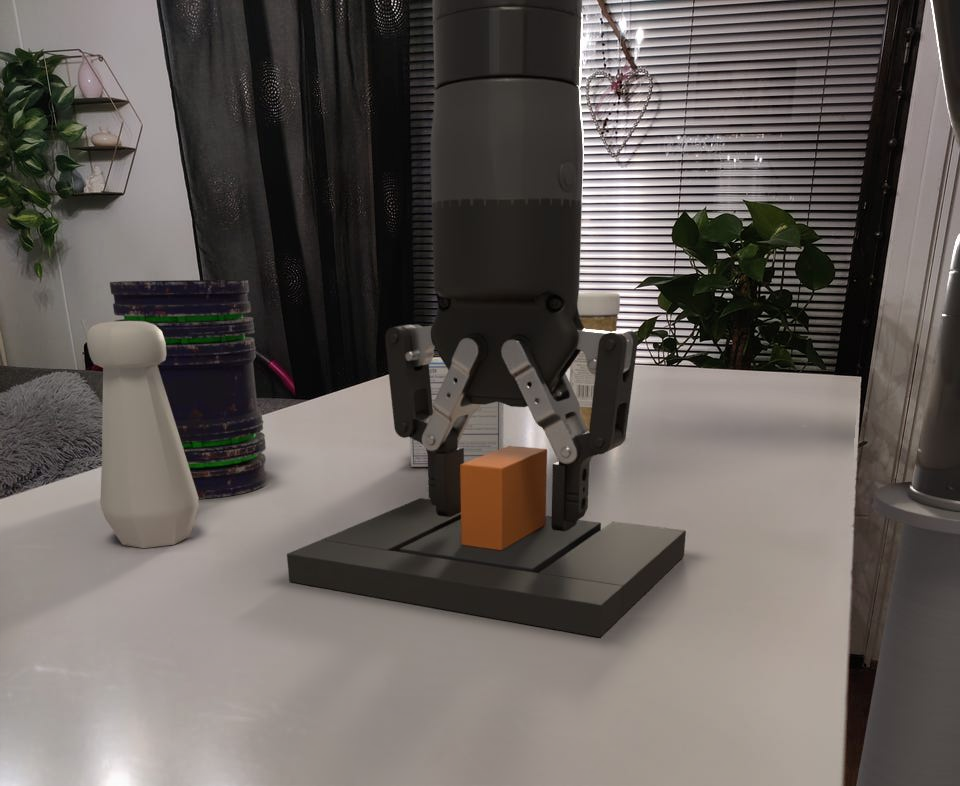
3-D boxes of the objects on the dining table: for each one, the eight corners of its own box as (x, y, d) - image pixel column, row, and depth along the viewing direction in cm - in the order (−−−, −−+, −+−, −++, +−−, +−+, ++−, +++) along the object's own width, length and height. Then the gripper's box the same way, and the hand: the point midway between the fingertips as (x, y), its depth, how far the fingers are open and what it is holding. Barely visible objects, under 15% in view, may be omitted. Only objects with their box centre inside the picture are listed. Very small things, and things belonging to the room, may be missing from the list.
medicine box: (503, 458, 80) (504, 356, 77) (503, 468, 76) (503, 361, 73) (415, 458, 81) (411, 356, 77) (410, 468, 77) (406, 362, 73)
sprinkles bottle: (620, 437, 90) (628, 292, 85) (600, 444, 86) (607, 293, 81) (579, 433, 92) (584, 291, 87) (558, 440, 88) (562, 292, 83)
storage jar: (291, 474, 75) (274, 279, 69) (229, 503, 66) (203, 282, 60) (185, 468, 77) (160, 280, 71) (111, 495, 68) (76, 282, 63)
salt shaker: (89, 540, 57) (49, 322, 52) (169, 521, 61) (140, 317, 56) (139, 557, 54) (102, 326, 49) (221, 536, 58) (194, 320, 53)
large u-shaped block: (420, 521, 61) (420, 497, 60) (684, 556, 53) (686, 530, 52) (288, 581, 49) (286, 553, 49) (600, 637, 42) (601, 605, 41)
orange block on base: (482, 532, 58) (482, 436, 56) (600, 547, 55) (605, 446, 52) (400, 576, 50) (395, 466, 48) (532, 598, 47) (534, 480, 44)
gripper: (669, 194, 45) (647, 519, 52) (421, 205, 51) (429, 494, 58) (618, 184, 39) (601, 554, 45) (344, 197, 45) (363, 521, 52)
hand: (505, 519), depth 52 cm, fingers open, 6 cm apart
